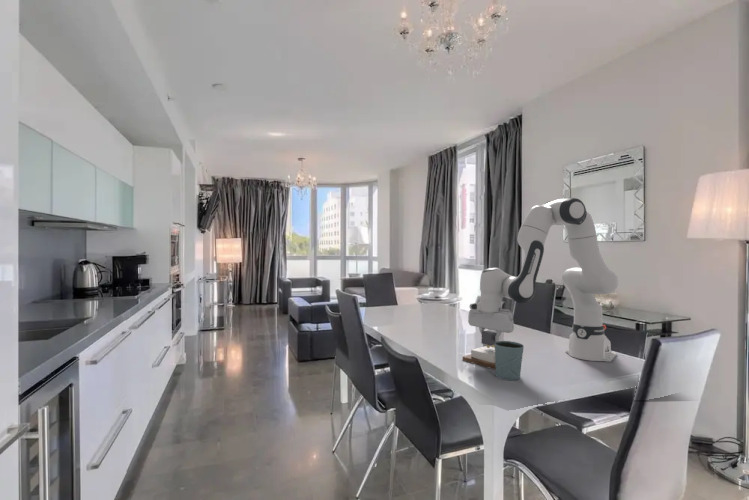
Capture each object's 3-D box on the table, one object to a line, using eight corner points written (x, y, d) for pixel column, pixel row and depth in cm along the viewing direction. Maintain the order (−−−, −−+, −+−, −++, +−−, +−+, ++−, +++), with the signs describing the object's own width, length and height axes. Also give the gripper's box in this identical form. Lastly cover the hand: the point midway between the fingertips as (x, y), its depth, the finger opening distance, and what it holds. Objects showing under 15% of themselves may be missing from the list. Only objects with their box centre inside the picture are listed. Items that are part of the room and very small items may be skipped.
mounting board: (485, 353, 177) (485, 350, 177) (518, 362, 164) (518, 358, 164) (462, 360, 167) (462, 356, 167) (495, 369, 154) (495, 365, 154)
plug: (491, 344, 170) (491, 329, 170) (500, 346, 166) (500, 331, 166) (481, 347, 165) (481, 331, 165) (490, 349, 162) (490, 333, 162)
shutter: (489, 350, 168) (489, 348, 168) (495, 352, 166) (495, 350, 166) (484, 352, 166) (484, 350, 166) (490, 353, 163) (490, 351, 163)
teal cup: (490, 372, 151) (490, 340, 151) (516, 371, 152) (516, 340, 152) (500, 381, 141) (500, 347, 141) (527, 380, 142) (528, 347, 142)
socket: (486, 352, 173) (486, 344, 173) (509, 358, 165) (509, 349, 165) (471, 356, 166) (471, 348, 166) (493, 363, 158) (493, 354, 158)
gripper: (517, 309, 159) (516, 343, 159) (475, 303, 175) (474, 334, 175) (508, 310, 155) (507, 345, 155) (466, 304, 171) (465, 336, 171)
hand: (490, 339), depth 165 cm, fingers closed on plug, 4 cm apart
